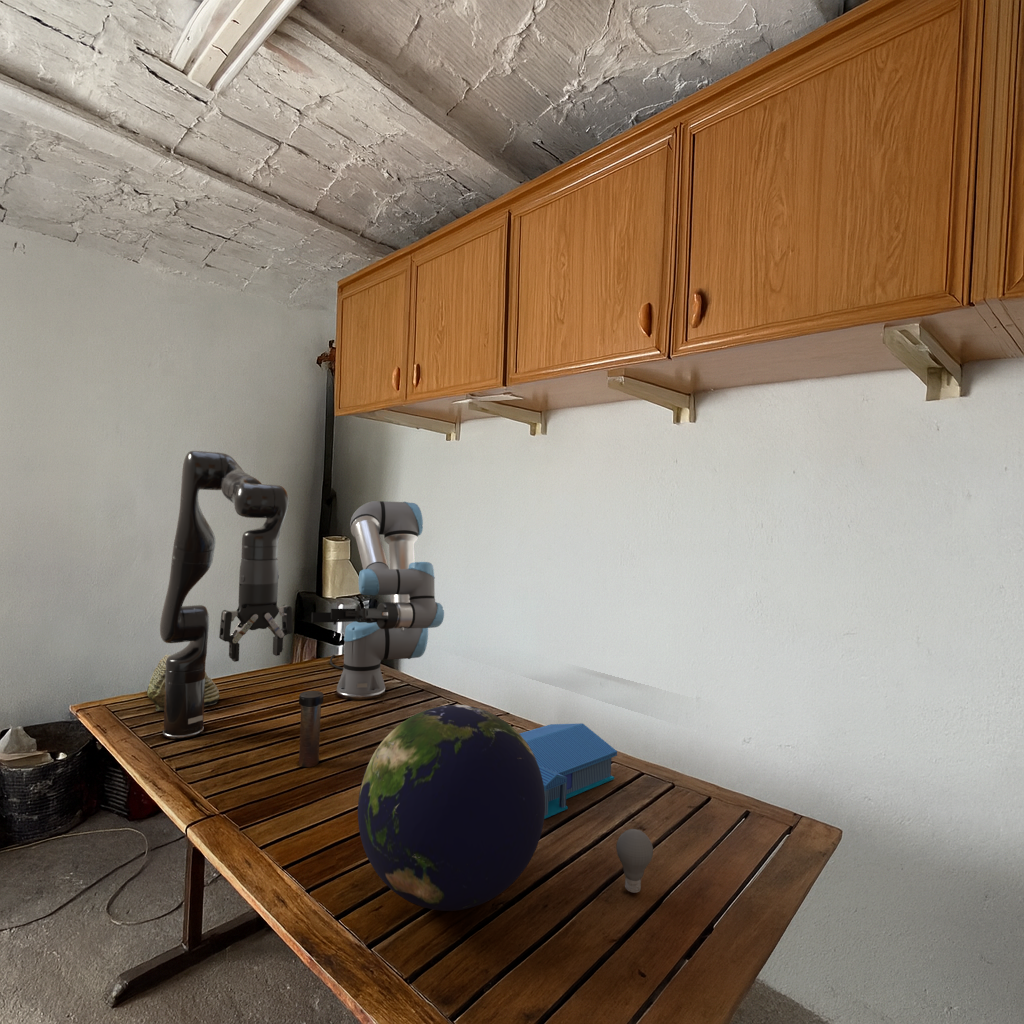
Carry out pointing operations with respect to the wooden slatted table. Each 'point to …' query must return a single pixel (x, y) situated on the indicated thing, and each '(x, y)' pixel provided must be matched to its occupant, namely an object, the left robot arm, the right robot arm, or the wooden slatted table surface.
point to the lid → (311, 698)
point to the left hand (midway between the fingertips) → (256, 657)
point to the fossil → (158, 687)
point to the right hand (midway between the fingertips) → (321, 615)
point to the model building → (569, 761)
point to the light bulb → (634, 857)
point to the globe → (451, 807)
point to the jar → (309, 736)
